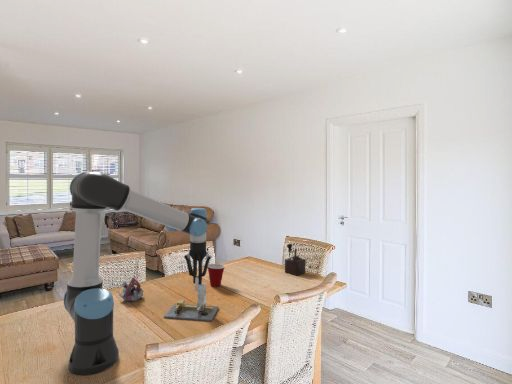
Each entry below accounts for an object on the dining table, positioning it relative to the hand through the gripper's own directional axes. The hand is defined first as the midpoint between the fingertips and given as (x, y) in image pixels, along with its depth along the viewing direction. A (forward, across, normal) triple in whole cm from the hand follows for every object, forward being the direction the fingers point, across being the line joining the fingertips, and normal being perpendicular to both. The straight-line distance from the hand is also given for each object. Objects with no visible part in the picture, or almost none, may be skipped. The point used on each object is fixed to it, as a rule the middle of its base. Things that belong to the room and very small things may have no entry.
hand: (197, 290), depth 148 cm
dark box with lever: (+10, -46, -70) cm, 85 cm away
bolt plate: (+10, +2, +3) cm, 10 cm away
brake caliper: (+10, +37, -9) cm, 39 cm away
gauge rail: (+10, +2, +3) cm, 10 cm away
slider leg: (+9, -2, +2) cm, 10 cm away
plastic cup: (+10, -1, -35) cm, 37 cm away
